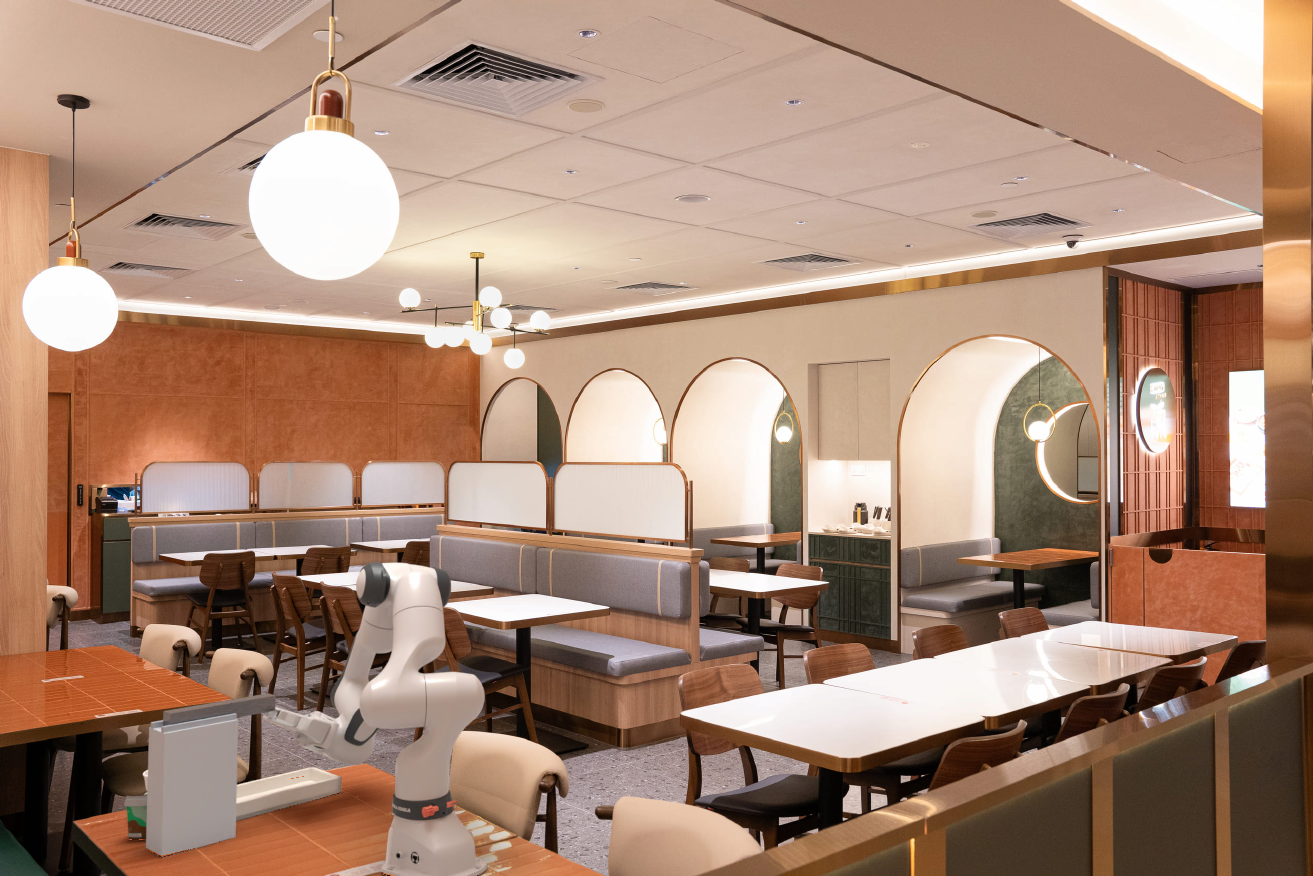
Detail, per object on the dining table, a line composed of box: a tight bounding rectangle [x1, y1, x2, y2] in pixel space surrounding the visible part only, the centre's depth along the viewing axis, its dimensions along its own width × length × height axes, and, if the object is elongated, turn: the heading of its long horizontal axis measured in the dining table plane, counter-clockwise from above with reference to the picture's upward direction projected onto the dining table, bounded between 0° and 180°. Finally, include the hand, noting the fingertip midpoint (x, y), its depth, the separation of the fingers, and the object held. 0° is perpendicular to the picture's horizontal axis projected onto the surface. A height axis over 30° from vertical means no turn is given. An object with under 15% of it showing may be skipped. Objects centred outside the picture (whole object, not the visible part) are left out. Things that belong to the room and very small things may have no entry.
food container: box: [123, 790, 147, 840], centre depth 219 cm, size 12×6×10 cm, turn 161°
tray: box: [236, 766, 343, 822], centre depth 242 cm, size 14×31×4 cm, turn 139°
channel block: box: [145, 713, 239, 856], centre depth 215 cm, size 8×16×27 cm, turn 139°
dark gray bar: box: [162, 692, 277, 726], centre depth 220 cm, size 4×24×4 cm, turn 139°
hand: (268, 710), depth 228 cm, fingers open, 8 cm apart
